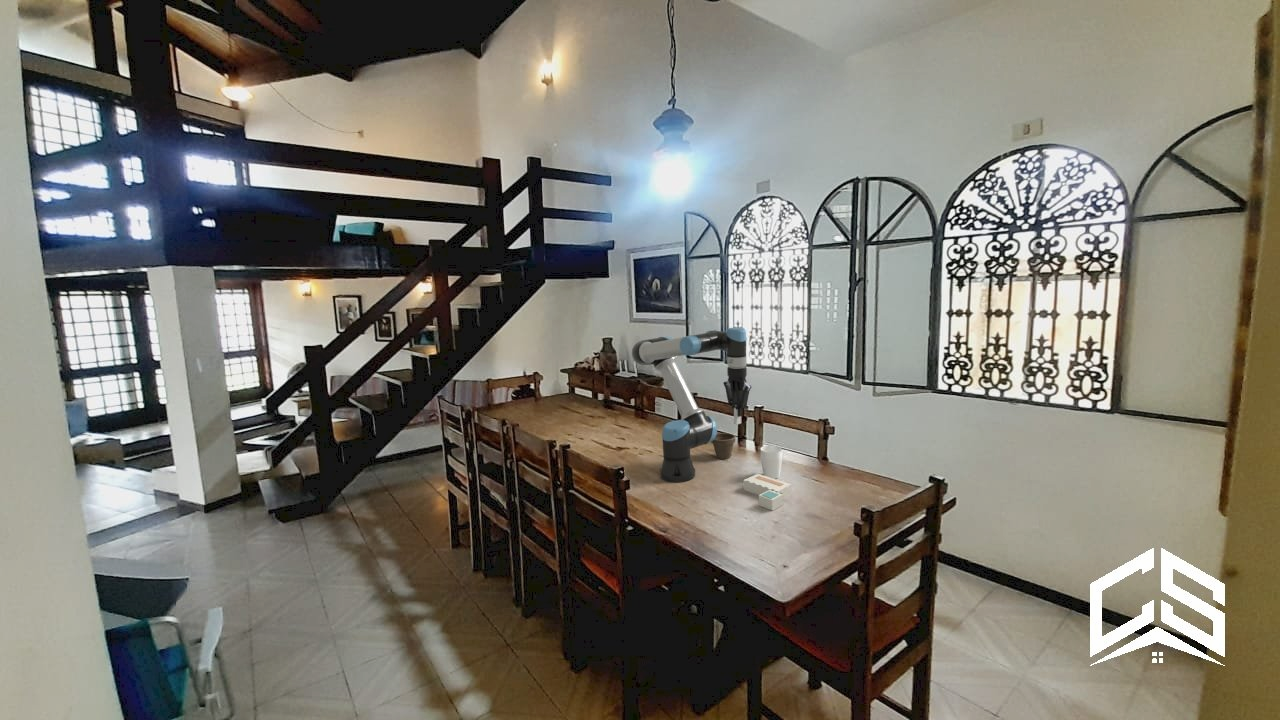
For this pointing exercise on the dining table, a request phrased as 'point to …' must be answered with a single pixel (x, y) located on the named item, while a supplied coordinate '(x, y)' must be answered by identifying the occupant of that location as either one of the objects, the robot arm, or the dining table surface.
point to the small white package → (766, 485)
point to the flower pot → (723, 445)
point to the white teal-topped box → (771, 499)
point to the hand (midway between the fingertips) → (737, 423)
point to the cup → (771, 461)
